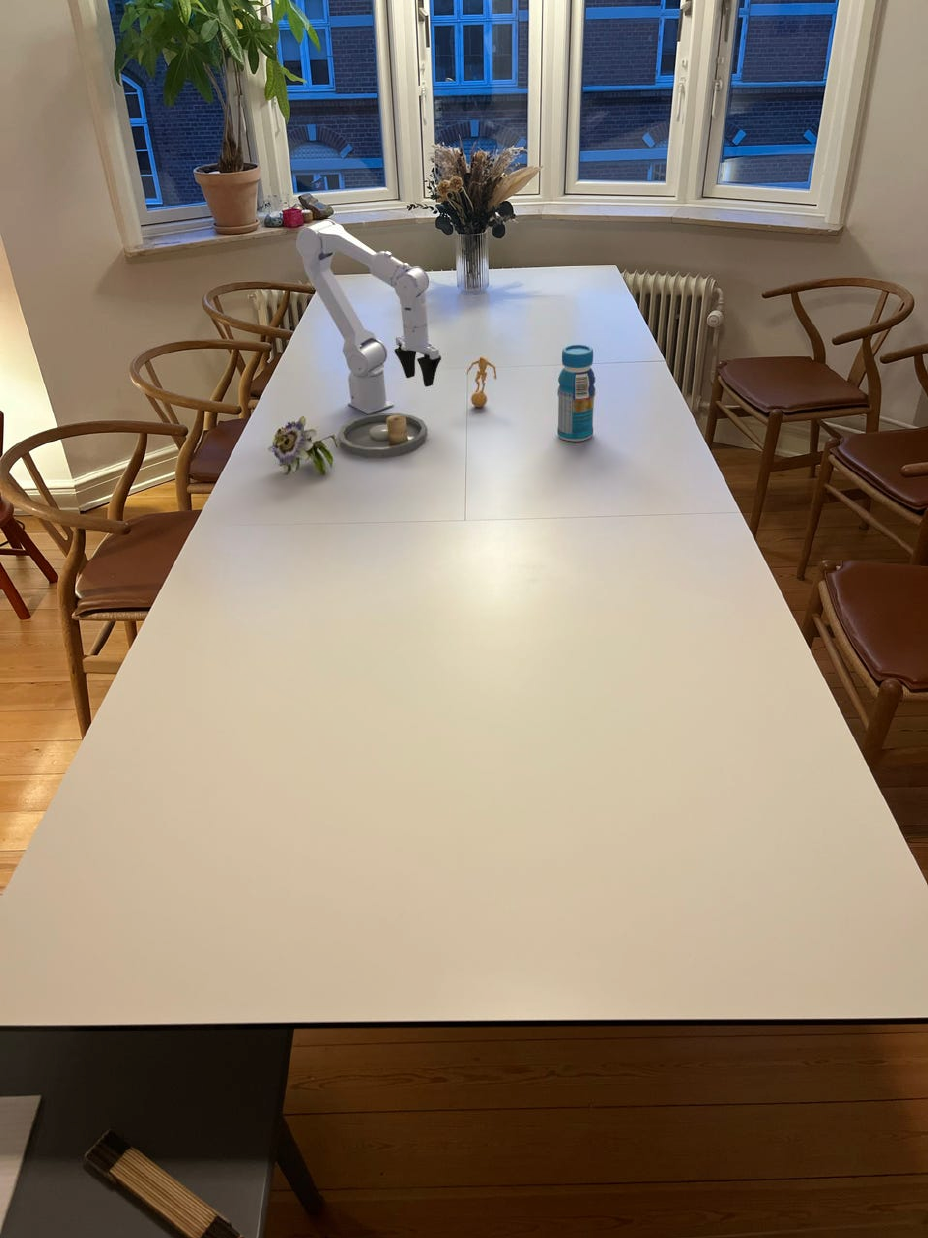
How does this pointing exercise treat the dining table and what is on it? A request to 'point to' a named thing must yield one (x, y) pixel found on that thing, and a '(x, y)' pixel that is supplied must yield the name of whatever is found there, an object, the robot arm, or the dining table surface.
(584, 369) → the beverage bottle
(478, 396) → the figurine
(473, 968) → the dining table surface
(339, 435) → the round tray
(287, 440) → the passion flower
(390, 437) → the oak bead
